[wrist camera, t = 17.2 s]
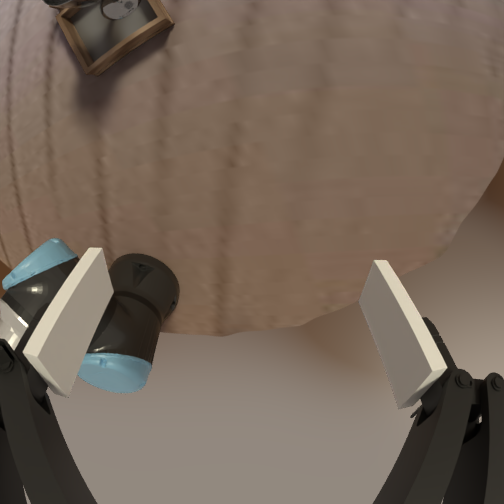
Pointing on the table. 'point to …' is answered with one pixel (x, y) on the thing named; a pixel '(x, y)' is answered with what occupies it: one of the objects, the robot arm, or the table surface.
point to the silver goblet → (111, 6)
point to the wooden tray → (110, 32)
